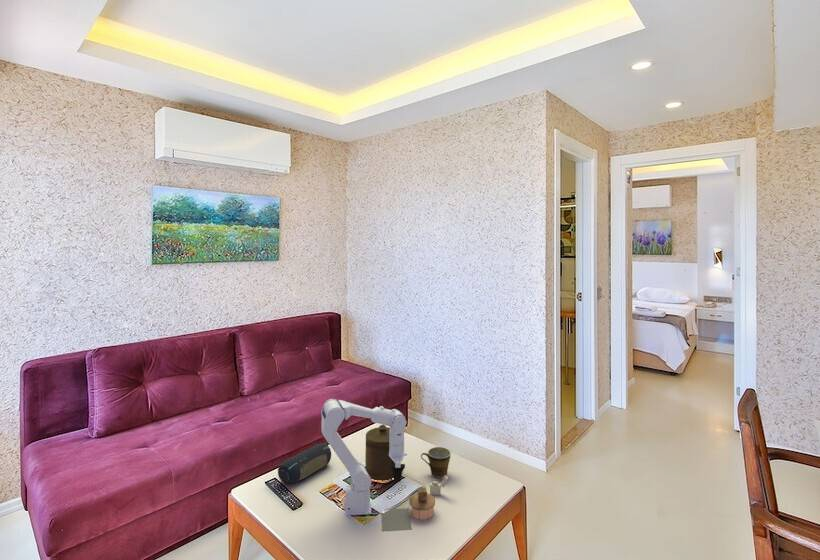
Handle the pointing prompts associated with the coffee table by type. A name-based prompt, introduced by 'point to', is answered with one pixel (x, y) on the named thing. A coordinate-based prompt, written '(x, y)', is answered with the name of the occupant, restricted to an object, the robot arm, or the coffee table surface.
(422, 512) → the bowl
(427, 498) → the lid
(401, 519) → the mat
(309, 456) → the portable speaker
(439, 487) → the lighter
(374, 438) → the wooden container
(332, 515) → the coffee table surface
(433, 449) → the ceramic cup
